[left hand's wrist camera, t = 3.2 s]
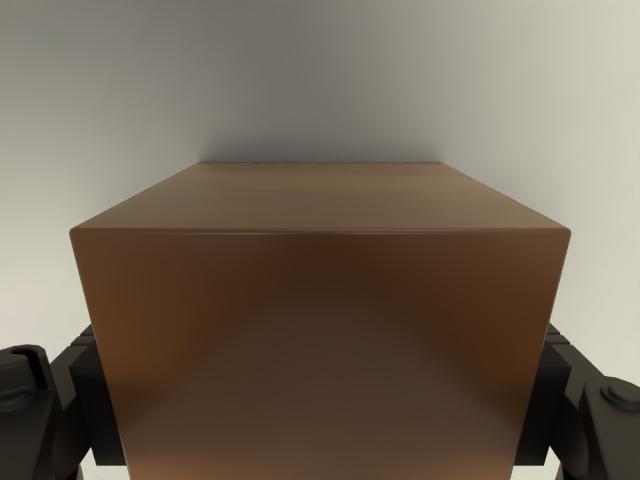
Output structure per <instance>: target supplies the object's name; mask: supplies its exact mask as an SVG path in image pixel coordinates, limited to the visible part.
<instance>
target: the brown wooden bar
mask: <svg viewBox="0 0 640 480" xmlns="http://www.w3.org/2000/svg"><path fill="white" fill-rule="evenodd" d="M69 235H70V239H71V243H72V247H73V251H74V255H75V259H76V263H77V267H78V272H79V276H80V280H81V284H82V288H83V292H84V296H85V300H86V304H87V308H88V312H89V316H90V320H91V324H92V328H93V332H94V336H95V340H96V344H97V348H98V352H99V356H100V360H101V364H102V368H103V372H104V376H105V380H106V384H107V388H108V392H109V396H110V400H111V404H112V408H113V412H114V416H115V420H116V424H117V428H118V432H119V436H120V440H121V444H122V449H123V453H124V457H125V461H126V465H127V469H128V473H129V477H130V480H510V478H511V474H512V470H513V466H514V462H515V458H516V454H517V450H518V446H519V442H520V438H521V434H522V430H523V426H524V422H525V417H526V413H527V409H528V405H529V401H530V397H531V393H532V389H533V385H534V381H535V377H536V373H537V369H538V365H539V361H540V357H541V353H542V349H543V345H544V341H545V337H546V333H547V329H548V325H549V321H550V317H551V313H552V309H553V305H554V301H555V297H556V293H557V289H558V285H559V281H560V277H561V273H562V269H563V265H564V261H565V257H566V253H567V249H568V245H569V241H570V237H571V230H570V229H569V228H567V227H565V226H563V225H561V224H559V223H557V222H555V221H553V220H551V219H549V218H548V217H546V216H544V215H542V214H540V213H538V212H536V211H534V210H532V209H530V208H528V207H526V206H524V205H523V204H521V203H519V202H517V201H515V200H513V199H511V198H509V197H507V196H505V195H503V194H501V193H499V192H498V191H496V190H494V189H492V188H490V187H488V186H486V185H484V184H482V183H480V182H478V181H476V180H474V179H473V178H471V177H469V176H467V175H465V174H463V173H461V172H459V171H457V170H455V169H453V168H451V167H449V166H448V165H446V164H444V163H196V164H195V165H193V166H191V167H189V168H187V169H185V170H183V171H181V172H179V173H177V174H175V175H173V176H171V177H170V178H168V179H166V180H164V181H162V182H160V183H158V184H156V185H154V186H152V187H150V188H148V189H147V190H145V191H143V192H141V193H139V194H137V195H135V196H133V197H131V198H129V199H127V200H125V201H123V202H122V203H120V204H118V205H116V206H114V207H112V208H110V209H108V210H106V211H104V212H102V213H100V214H98V215H97V216H95V217H93V218H91V219H89V220H87V221H85V222H83V223H81V224H79V225H77V226H75V227H74V228H72V229H70V232H69Z"/></svg>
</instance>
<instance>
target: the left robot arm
mask: <svg viewBox="0 0 640 480" xmlns="http://www.w3.org/2000/svg"><path fill="white" fill-rule="evenodd" d="M549 446H550V447H551V448H552V450H553V451H554V453H555V454H556V456H557V457H558V459H559V460H560V465H559V468H558V472H557V475H556V478H555V480H640V387H638V386H636V385H634V384H632V383H630V382H627V381H624V380H621V379H618V378H615V377H608V376H604V375H603V374H602V373H601V372H600V371H599V370H598V369H597V368H596V367H595V366H594V365H593V364H592V363H591V362H590V361H589V360H588V359H587V358H586V357H585V356H583V355H582V354H581V353H580V352H579V351H578V350H577V349H576V348H575V347H574V346H573V345H570V342H569V341H568V340H567V339H566V338H565V337H564V336H563V335H560V332H559V331H558V330H557V329H556V328H555V327H554V326H553V325H552V324H551V323H550V322H549V325H548V329H547V333H546V337H545V341H544V345H543V349H542V353H541V357H540V361H539V365H538V369H537V373H536V377H535V381H534V385H533V389H532V393H531V397H530V401H529V405H528V409H527V413H526V417H525V422H524V426H523V430H522V434H521V438H520V442H519V446H518V450H517V454H516V458H515V462H514V466H544V463H545V460H546V456H547V453H548V449H549ZM90 448H92V452H93V455H94V459H95V462H96V466H127V465H126V461H125V457H124V453H123V449H122V444H121V440H120V436H119V432H118V428H117V424H116V420H115V416H114V412H113V408H112V404H111V400H110V396H109V392H108V388H107V384H106V380H105V376H104V372H103V368H102V364H101V360H100V356H99V352H98V348H97V344H96V340H95V336H94V332H93V328H92V324H90V325H89V326H88V327H87V328H86V329H85V330H84V331H83V332H82V333H81V334H80V336H78V337H77V338H76V339H75V340H74V341H73V342H72V343H71V345H70V346H68V347H67V348H66V349H65V350H64V351H63V352H62V353H61V354H60V355H59V356H58V357H57V358H56V359H55V360H54V361H52V362H51V363H50V364H49V361H48V358H47V355H46V351H45V349H44V348H42V347H40V346H39V345H29V344H27V345H19V346H13V347H9V348H6V349H2V350H0V480H83V473H82V468H81V465H80V463H81V461H82V460H83V458H84V457H85V455H86V454H87V452H88V451H89V449H90Z"/></svg>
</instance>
